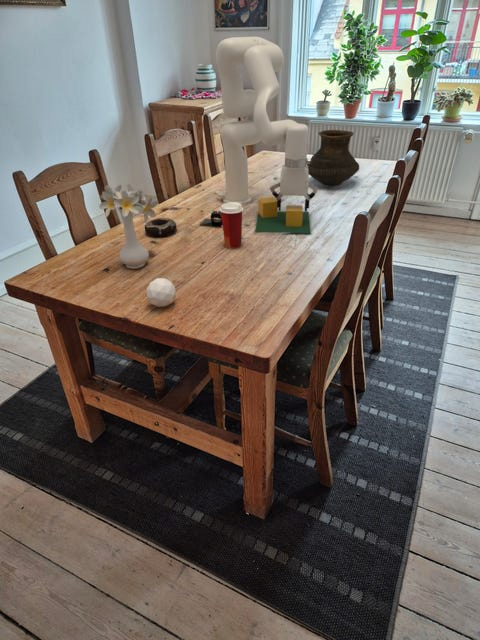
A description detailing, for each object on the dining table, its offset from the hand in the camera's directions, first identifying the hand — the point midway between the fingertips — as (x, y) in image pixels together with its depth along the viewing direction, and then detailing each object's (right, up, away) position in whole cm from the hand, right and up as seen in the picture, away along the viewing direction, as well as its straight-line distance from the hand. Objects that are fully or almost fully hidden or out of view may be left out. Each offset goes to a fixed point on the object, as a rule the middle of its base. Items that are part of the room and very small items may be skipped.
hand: (292, 209), depth 164 cm
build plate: (-28, -4, +6) cm, 29 cm away
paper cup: (-22, -15, -11) cm, 29 cm away
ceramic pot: (+23, +23, +45) cm, 56 cm away
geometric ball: (-41, -37, -43) cm, 70 cm away
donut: (-49, -8, +1) cm, 50 cm away
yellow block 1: (-9, +1, +11) cm, 14 cm away
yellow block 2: (+1, -5, +2) cm, 5 cm away
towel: (-3, -4, +5) cm, 7 cm away
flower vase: (-52, -23, -22) cm, 61 cm away
